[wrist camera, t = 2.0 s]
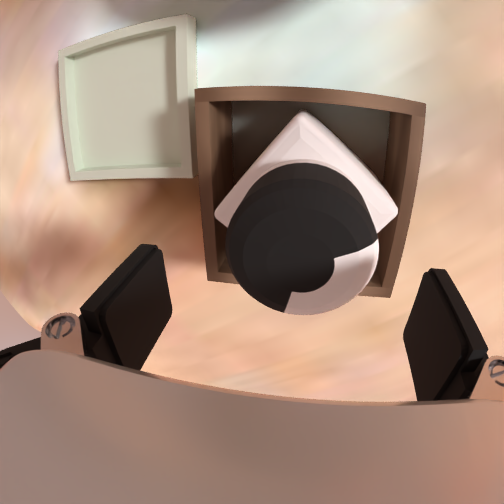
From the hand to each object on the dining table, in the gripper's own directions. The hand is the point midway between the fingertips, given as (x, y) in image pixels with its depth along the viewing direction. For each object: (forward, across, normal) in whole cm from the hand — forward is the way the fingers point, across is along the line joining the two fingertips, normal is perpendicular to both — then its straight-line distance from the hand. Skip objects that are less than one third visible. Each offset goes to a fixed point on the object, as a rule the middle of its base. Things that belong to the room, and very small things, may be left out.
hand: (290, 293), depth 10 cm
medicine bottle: (+13, 0, -1) cm, 13 cm away
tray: (+13, +14, -7) cm, 20 cm away
